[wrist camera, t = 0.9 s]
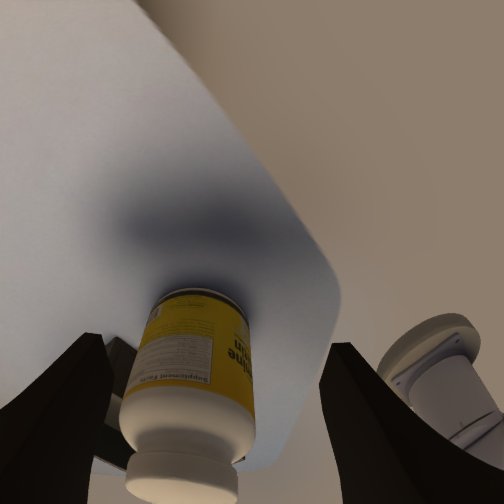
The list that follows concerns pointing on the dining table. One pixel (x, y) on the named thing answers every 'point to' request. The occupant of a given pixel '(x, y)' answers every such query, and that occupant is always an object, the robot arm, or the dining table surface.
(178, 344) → the pill bottle
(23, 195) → the dining table surface
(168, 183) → the dining table surface
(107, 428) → the bin
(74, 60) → the dining table surface
